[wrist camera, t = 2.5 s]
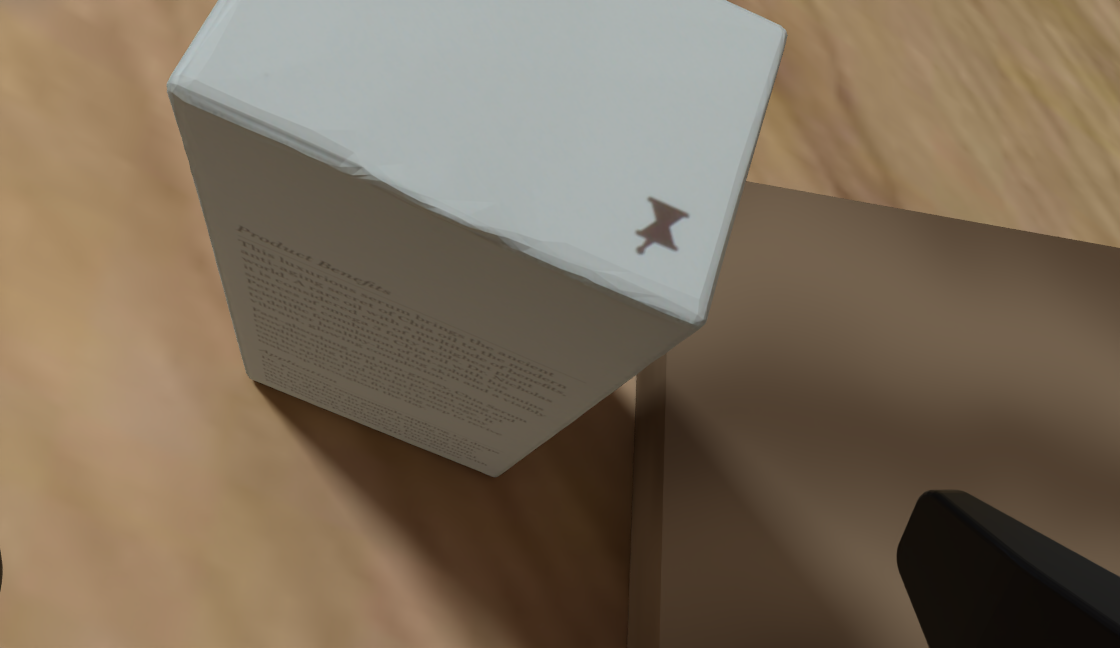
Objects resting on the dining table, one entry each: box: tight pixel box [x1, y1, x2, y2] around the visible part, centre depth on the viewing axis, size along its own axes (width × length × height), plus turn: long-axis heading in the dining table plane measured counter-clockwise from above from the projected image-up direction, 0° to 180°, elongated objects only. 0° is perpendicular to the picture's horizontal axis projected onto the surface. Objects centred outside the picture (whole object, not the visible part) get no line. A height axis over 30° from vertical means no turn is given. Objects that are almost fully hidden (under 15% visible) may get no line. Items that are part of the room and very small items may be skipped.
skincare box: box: [167, 0, 787, 477], centre depth 16 cm, size 6×4×12 cm
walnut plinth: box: [627, 181, 1120, 648], centre depth 22 cm, size 13×13×2 cm
